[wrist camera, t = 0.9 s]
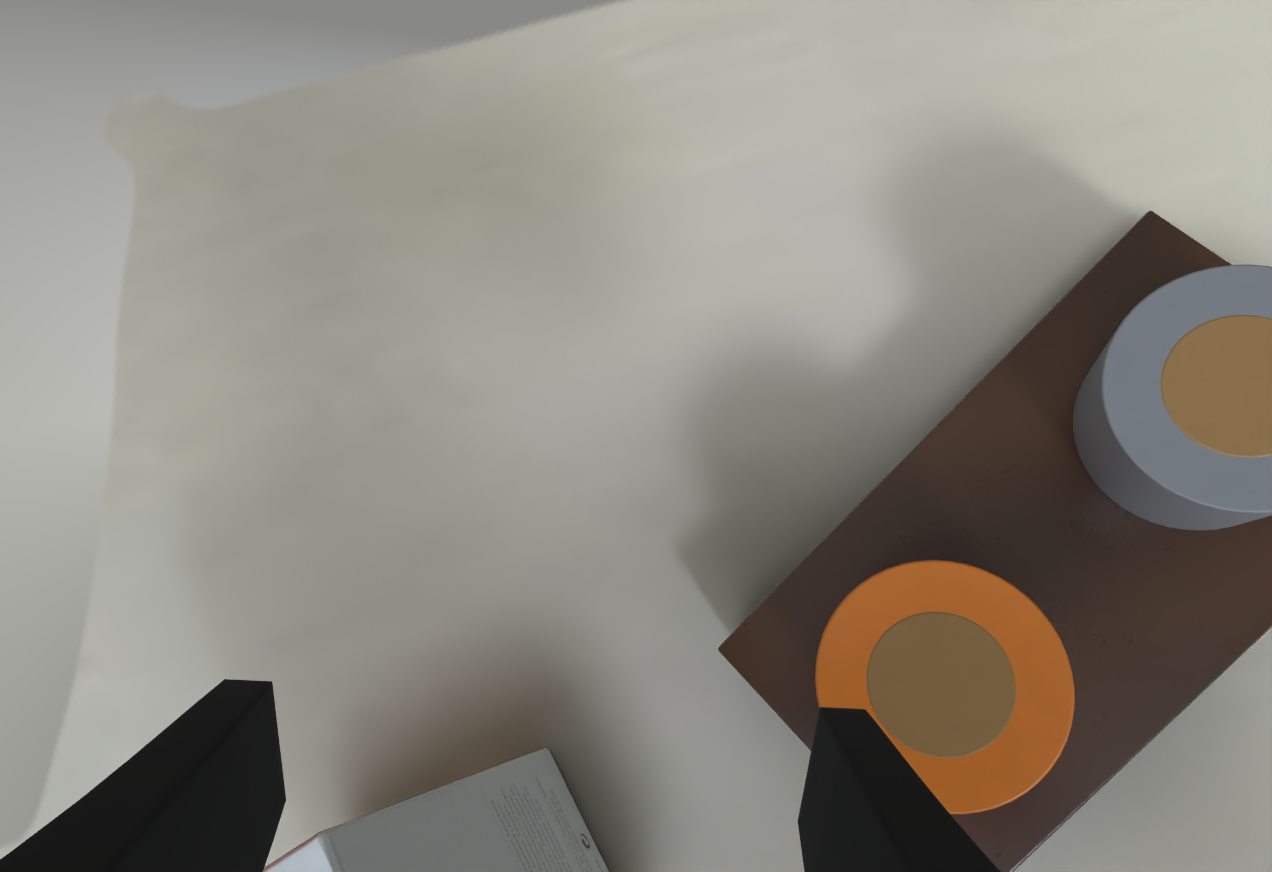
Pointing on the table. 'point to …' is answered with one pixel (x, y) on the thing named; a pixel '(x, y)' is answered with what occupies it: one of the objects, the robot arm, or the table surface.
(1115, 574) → the brown rectangular block
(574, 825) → the small box
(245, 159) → the table surface
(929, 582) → the orange tape
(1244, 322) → the grey tape
